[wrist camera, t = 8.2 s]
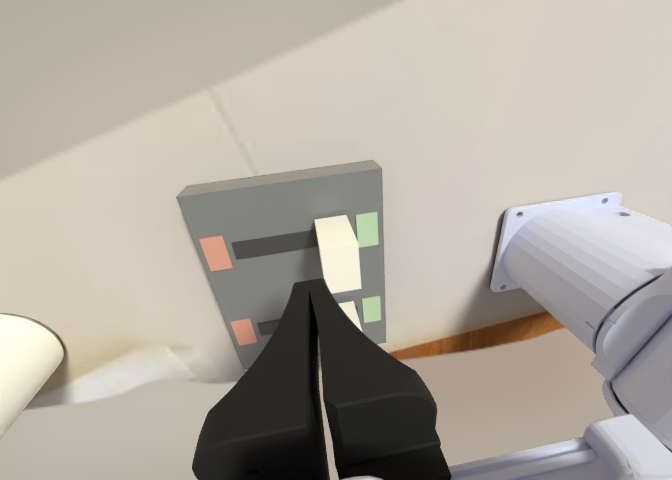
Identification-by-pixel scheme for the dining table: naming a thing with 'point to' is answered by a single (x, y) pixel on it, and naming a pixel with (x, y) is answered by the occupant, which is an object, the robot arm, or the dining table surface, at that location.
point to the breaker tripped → (338, 253)
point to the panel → (285, 244)
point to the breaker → (351, 312)
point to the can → (24, 363)
